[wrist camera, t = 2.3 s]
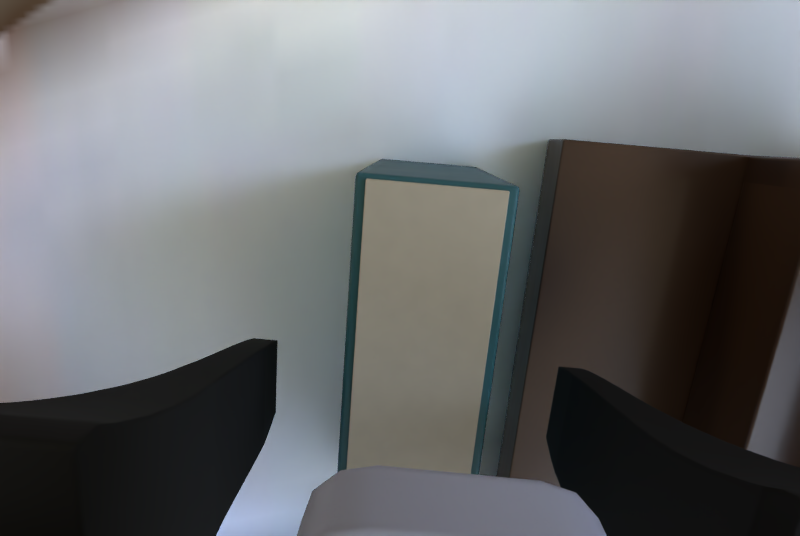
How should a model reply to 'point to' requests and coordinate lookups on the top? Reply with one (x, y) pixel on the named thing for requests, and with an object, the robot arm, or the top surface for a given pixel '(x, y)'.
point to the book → (423, 314)
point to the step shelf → (663, 294)
